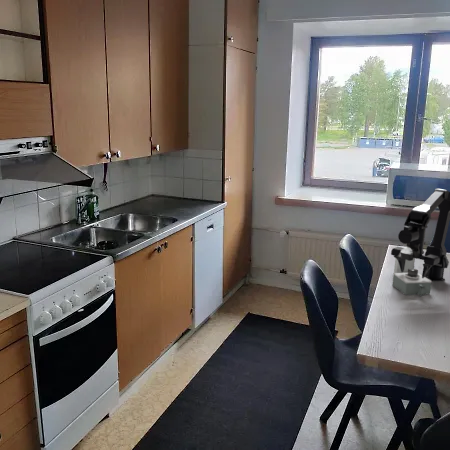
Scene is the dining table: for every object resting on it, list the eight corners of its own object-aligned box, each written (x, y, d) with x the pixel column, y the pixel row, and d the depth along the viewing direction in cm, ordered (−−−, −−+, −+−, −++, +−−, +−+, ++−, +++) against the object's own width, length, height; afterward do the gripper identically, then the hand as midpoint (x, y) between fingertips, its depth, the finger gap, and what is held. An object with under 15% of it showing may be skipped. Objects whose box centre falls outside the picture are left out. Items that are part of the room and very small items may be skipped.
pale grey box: (415, 284, 206) (417, 272, 205) (434, 296, 193) (435, 283, 191) (392, 285, 204) (393, 273, 203) (409, 297, 191) (410, 285, 190)
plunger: (414, 284, 204) (417, 266, 202) (425, 291, 196) (427, 273, 194) (396, 284, 203) (398, 267, 201) (406, 292, 195) (408, 273, 193)
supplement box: (413, 278, 213) (416, 251, 210) (395, 276, 215) (398, 250, 212) (410, 272, 220) (413, 246, 217) (393, 271, 222) (396, 245, 219)
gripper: (385, 237, 196) (382, 273, 200) (429, 248, 183) (424, 285, 186) (399, 233, 203) (395, 267, 207) (442, 243, 190) (437, 279, 193)
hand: (412, 275), depth 198 cm, fingers open, 9 cm apart
